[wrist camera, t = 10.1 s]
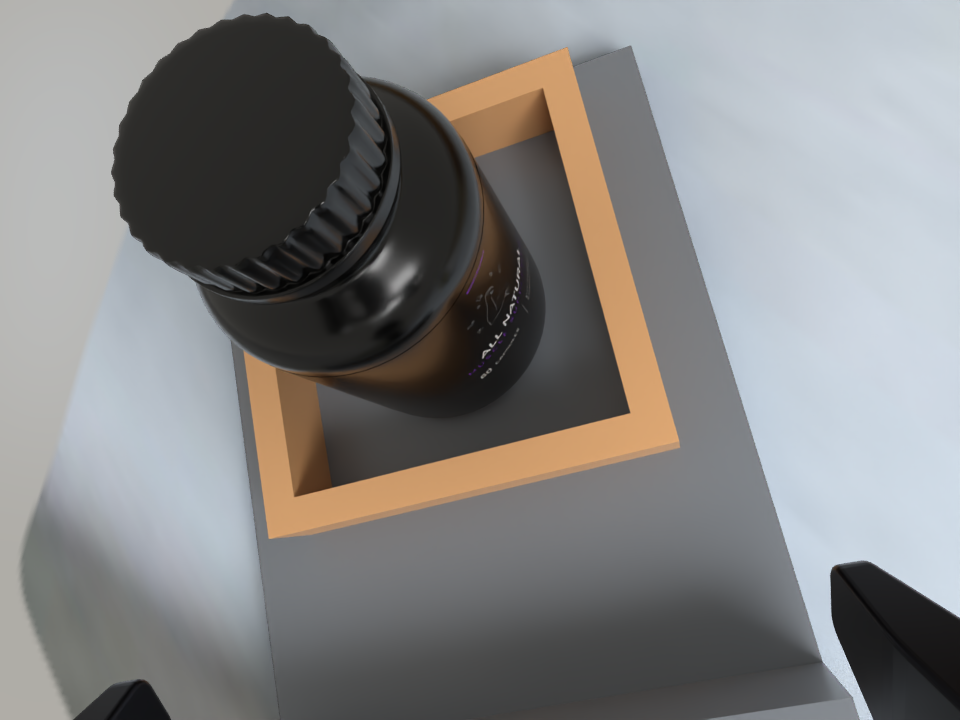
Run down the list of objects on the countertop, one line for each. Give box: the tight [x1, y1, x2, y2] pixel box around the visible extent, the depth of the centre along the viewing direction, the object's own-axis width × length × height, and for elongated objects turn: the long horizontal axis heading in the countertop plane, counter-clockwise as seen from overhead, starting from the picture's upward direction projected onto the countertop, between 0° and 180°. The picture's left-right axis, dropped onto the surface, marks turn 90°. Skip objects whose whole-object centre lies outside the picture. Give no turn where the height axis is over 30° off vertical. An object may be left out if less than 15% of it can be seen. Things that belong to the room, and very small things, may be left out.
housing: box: [231, 46, 860, 720], centre depth 21 cm, size 20×16×5 cm
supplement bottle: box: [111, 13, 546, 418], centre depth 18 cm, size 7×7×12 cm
